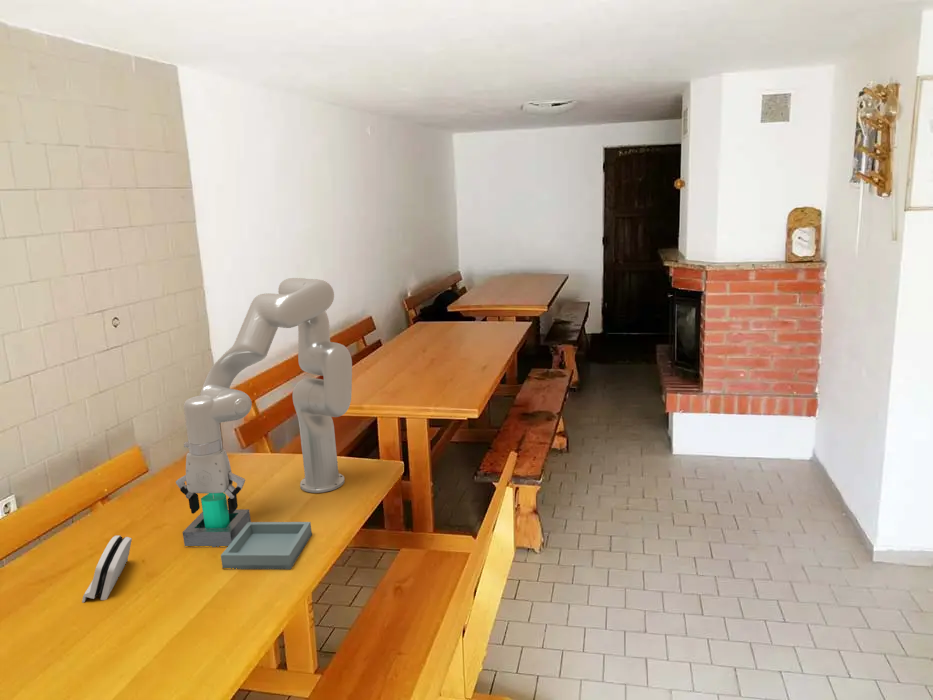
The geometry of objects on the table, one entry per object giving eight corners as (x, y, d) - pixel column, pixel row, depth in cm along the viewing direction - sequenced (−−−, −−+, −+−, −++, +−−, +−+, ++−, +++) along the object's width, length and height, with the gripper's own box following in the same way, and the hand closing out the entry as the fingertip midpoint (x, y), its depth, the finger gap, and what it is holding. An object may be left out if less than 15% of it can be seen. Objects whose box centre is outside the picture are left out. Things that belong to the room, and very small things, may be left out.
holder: (206, 523, 186) (204, 509, 185) (251, 523, 184) (249, 509, 183) (184, 547, 174) (182, 532, 173) (232, 547, 173) (230, 532, 172)
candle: (212, 543, 175) (205, 498, 172) (202, 535, 179) (195, 491, 177) (235, 534, 179) (229, 490, 176) (225, 527, 183) (219, 483, 180)
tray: (249, 534, 178) (247, 522, 178) (311, 534, 177) (310, 521, 176) (222, 569, 163) (220, 555, 162) (290, 569, 161) (289, 555, 161)
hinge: (104, 563, 168) (113, 525, 166) (126, 567, 169) (134, 529, 168) (81, 603, 152) (90, 561, 150) (104, 607, 153) (114, 565, 152)
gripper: (164, 452, 171) (173, 518, 175) (233, 451, 169) (241, 518, 173) (179, 441, 178) (188, 504, 182) (246, 440, 176) (253, 504, 180)
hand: (214, 511), depth 177 cm, fingers open, 9 cm apart
